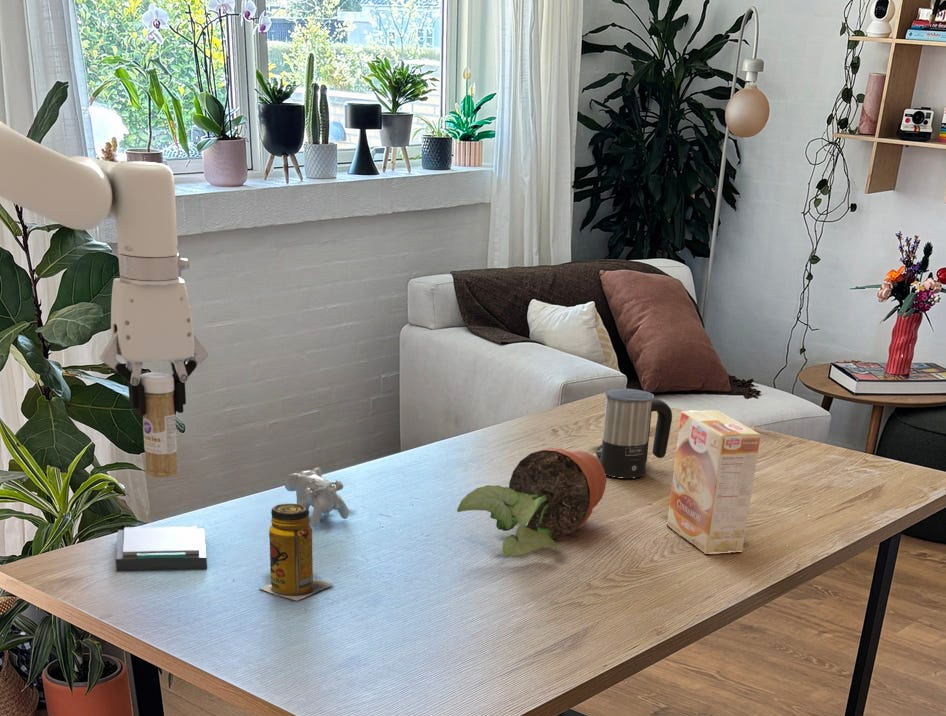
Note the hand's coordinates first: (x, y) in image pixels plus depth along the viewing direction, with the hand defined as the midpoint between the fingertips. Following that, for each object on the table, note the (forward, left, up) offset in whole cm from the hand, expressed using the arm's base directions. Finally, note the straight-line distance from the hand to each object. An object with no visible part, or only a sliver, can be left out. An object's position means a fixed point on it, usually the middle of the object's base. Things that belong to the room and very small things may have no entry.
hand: (158, 410), depth 177 cm
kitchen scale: (-1, +10, -24) cm, 26 cm away
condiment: (+18, -5, -24) cm, 30 cm away
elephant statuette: (+23, +26, -24) cm, 42 cm away
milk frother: (+85, +54, -24) cm, 103 cm away
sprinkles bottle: (0, 0, -9) cm, 9 cm away
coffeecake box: (+87, +12, -24) cm, 91 cm away
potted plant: (+58, +11, -24) cm, 64 cm away
